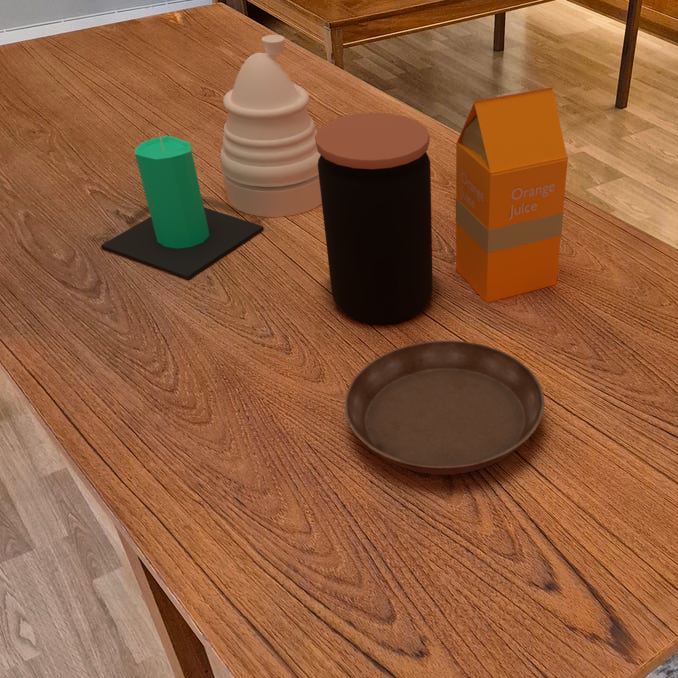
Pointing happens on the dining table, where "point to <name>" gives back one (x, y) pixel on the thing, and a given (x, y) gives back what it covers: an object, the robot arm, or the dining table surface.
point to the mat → (183, 261)
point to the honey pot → (269, 140)
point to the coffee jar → (377, 215)
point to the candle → (172, 191)
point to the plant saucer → (444, 406)
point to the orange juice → (510, 194)
